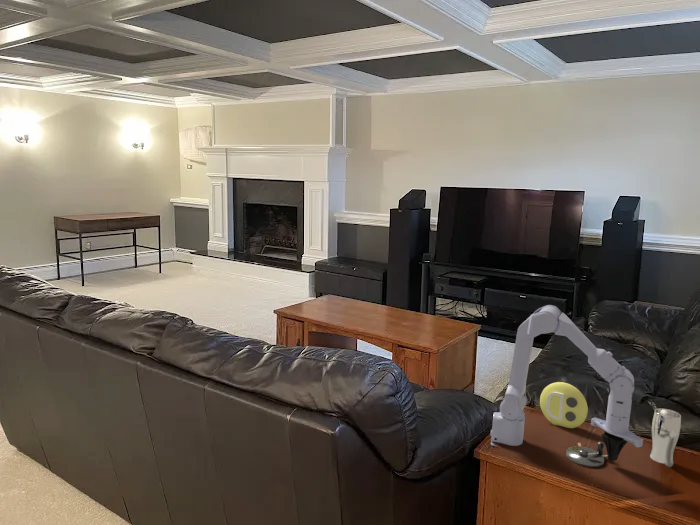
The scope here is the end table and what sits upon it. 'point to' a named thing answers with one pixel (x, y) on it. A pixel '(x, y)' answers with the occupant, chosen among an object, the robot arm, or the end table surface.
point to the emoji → (563, 405)
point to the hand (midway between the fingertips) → (612, 459)
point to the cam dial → (586, 455)
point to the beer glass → (665, 435)
